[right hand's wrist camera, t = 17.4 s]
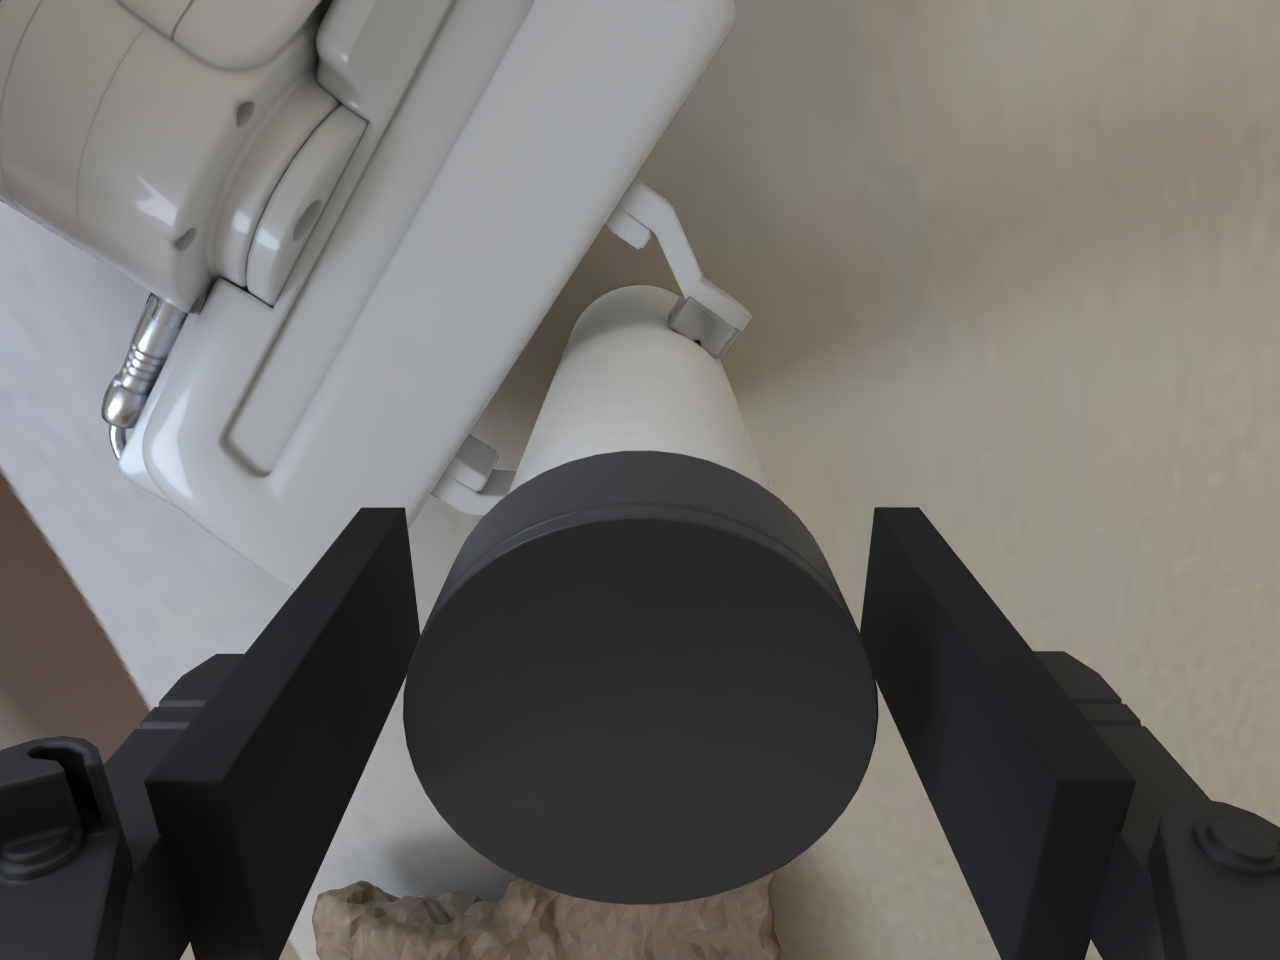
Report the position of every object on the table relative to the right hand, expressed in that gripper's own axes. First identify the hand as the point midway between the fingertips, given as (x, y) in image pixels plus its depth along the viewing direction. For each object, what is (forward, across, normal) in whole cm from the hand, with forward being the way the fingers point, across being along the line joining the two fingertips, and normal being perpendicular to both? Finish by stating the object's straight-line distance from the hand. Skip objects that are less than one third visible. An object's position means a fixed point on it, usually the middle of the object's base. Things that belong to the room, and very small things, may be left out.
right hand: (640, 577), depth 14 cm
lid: (-4, 0, 0) cm, 4 cm away
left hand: (+10, -1, 0) cm, 10 cm away
